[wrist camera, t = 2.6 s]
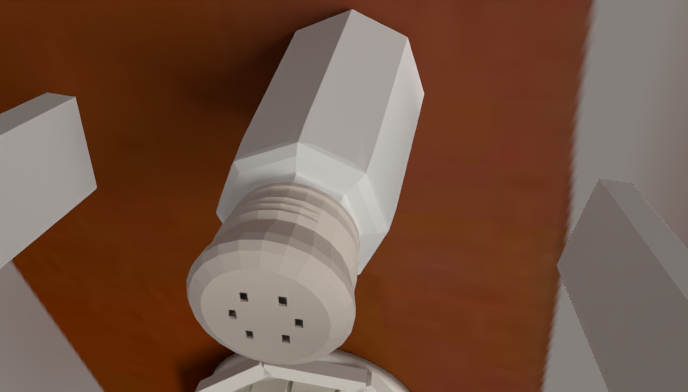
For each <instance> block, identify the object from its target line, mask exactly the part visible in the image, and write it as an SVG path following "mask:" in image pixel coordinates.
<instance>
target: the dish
mask: <svg viewBox="0 0 688 392" xmlns="http://www.w3.org/2000/svg"><path fill="white" fill-rule="evenodd" d="M195 392H410V391H409V390H408V389H407V388H406V387H405V386H404V384H403V383H402V382H400V381H399V380H398V379H397V378H396V377H394V376H393V375H392V374H390V373H389V372H387V371H386V370H384V369H383V368H381V367H380V366H378V365H376V364H374V363H372V362H370V361H368V360H366V359H364V358H361V357H359V356H356V355H354V354H351V353H348V352H345V351H342V350H338V349H335V350H333V351H332V352H331V353H329V354H328V355H326V356H325V357H322V358H320V359H317V360H314V361H311V362H308V363H301V364H293V365H287V364H271V363H267V362H262V361H258V360H253V359H251V358H248V357H246V356H243V355H240V354H238V353H234V354H233V355H231V356H229V357H227V358H226V359H225V360H224V361H223V362H221V363H220V364H219V365H218V366H217V368H216V369H215V370H214V372H213V374H212V376H210V377H208V378H206V379H203V380H201V381H200V383H199V384H198V386H197V389H196V391H195Z"/></svg>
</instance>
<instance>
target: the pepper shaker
mask: <svg viewBox="0 0 688 392" xmlns="http://www.w3.org/2000/svg"><path fill="white" fill-rule="evenodd" d="M423 97H424V92H423V88H422V85H421V81H420V78H419V74H418V71H417V68H416V64H415V61H414V57H413V54H412V51H411V47H410V44H409V40H408V37H406V36H404V35H402V34H400V33H398V32H396V31H394V30H392V29H390V28H388V27H386V26H384V25H382V24H380V23H378V22H376V21H374V20H372V19H370V18H368V17H366V16H364V15H362V14H361V13H359V12H357V11H355V10H353V9H351V10H348V11H346V12H343V13H341V14H338V15H336V16H333V17H330V18H328V19H325V20H323V21H320V22H318V23H315V24H313V25H310V26H307V27H305V28H302V29H300V30H297V31H296V32H295V34H294V36H293V38H292V40H291V42H290V44H289V46H288V48H287V50H286V52H285V54H284V56H283V58H282V60H281V62H280V64H279V66H278V68H277V70H276V72H275V74H274V76H273V78H272V80H271V82H270V85H269V87H268V89H267V91H266V93H265V95H264V97H263V99H262V101H261V103H260V105H259V107H258V109H257V111H256V113H255V115H254V117H253V119H252V121H251V123H250V125H249V127H248V129H247V131H246V133H245V135H244V137H243V139H242V141H241V144H240V146H239V149H238V151H237V154H236V157H235V159H234V162H233V164H232V166H231V168H230V171H229V174H228V177H227V180H226V183H225V186H224V189H223V192H222V195H221V198H220V201H219V204H218V208H217V212H216V214H217V215H218V217H219V218H220V220H221V222H222V223H223V225H222V226H221V227H220V229H219V231H218V232H217V234H216V235H215V237H214V240H213V242H212V243H211V244H210V245H208V246H207V247H206V249H205V250H204V251H203V252H202V253H201V254H200V256H199V257H198V258H197V259H196V261H195V262H194V263H193V265H192V266H191V268H190V271H189V274H188V278H187V281H186V284H187V297H188V300H189V303H190V306H191V308H192V311H193V313H194V315H195V318H196V319H197V320H198V322H199V323H200V324H201V326H202V327H203V328H204V330H205V331H206V332H207V333H208V334H209V335H211V336H212V337H213V338H214V339H215V340H216V341H218V342H219V343H220V344H222V345H224V346H225V347H227V348H229V349H230V350H232V351H234V352H236V353H238V354H240V355H243V356H246V357H248V358H251V359H253V360H258V361H262V362H267V363H271V364H287V365H293V364H301V363H308V362H311V361H314V360H317V359H320V358H322V357H325V356H326V355H328V354H329V353H331V352H332V351H333V350H335V349H336V348H338V347H339V346H341V345H342V344H343V343H344V341H345V340H346V339H347V337H348V336H349V334H350V333H351V331H352V327H353V323H354V320H355V311H356V306H355V298H354V290H355V285H356V281H357V275H359V274H360V273H361V272H362V270H363V269H364V267H365V266H366V264H367V263H368V261H369V260H370V258H371V257H372V255H373V254H374V252H375V251H376V249H377V248H378V246H379V245H380V243H381V242H382V240H383V238H384V237H385V235H386V234H387V232H388V231H389V228H390V225H391V222H392V220H393V217H394V214H395V211H396V207H397V203H398V199H399V195H400V191H401V187H402V183H403V178H404V174H405V170H406V166H407V162H408V158H409V154H410V150H411V146H412V142H413V138H414V134H415V129H416V125H417V121H418V117H419V113H420V109H421V105H422V101H423Z"/></svg>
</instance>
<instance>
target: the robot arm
mask: <svg viewBox="0 0 688 392" xmlns="http://www.w3.org/2000/svg"><path fill="white" fill-rule="evenodd" d="M96 189H97V185H96V181H95V177H94V173H93V168H92V164H91V160H90V156H89V152H88V148H87V143H86V139H85V135H84V131H83V127H82V123H81V118H80V114H79V110H78V106H77V102H76V98H75V97H72V96H66V95H59V94H53V93H45V94H43V95H41V96H39V97H36V98H34V99H32V100H30V101H28V102H25V103H23V104H21V105H19V106H17V107H15V108H12V109H10V110H8V111H6V112H4V113H1V114H0V269H1V268H2V267H3V266H4V265H5V264H6V263H8V262H9V261H10V260H11V259H13V258H14V257H15V256H16V255H17V254H19V253H20V252H21V251H22V250H23V249H25V248H26V247H27V246H28V245H29V244H31V243H32V242H33V241H34V240H35V239H37V238H38V237H39V236H40V235H41V234H43V233H44V232H45V231H46V230H47V229H49V228H50V227H51V226H52V225H53V224H55V223H56V222H57V221H58V220H60V219H61V218H62V217H63V216H64V215H66V214H67V213H68V212H69V211H70V210H72V209H73V208H74V207H75V206H76V205H78V204H79V203H80V202H81V201H82V200H84V199H85V198H86V197H87V196H88V195H90V194H91V193H92V192H93V191H94V190H96ZM557 268H558V270H559V272H560V275H561V277H562V280H563V282H564V285H565V287H566V289H567V292H568V294H569V297H570V299H571V301H572V304H573V306H574V309H575V311H576V313H577V316H578V318H579V321H580V323H581V326H582V328H583V330H584V333H585V335H586V337H587V340H588V342H589V345H590V347H591V350H592V352H593V354H594V357H595V359H596V362H597V364H598V366H599V369H600V371H601V374H602V376H603V379H604V381H605V383H606V386H607V388H608V390H609V392H688V250H687V248H686V247H685V246H684V245H683V244H682V242H681V241H680V240H679V239H678V238H677V236H676V235H675V234H674V233H673V232H672V230H671V229H670V228H669V227H668V226H667V224H666V223H665V222H664V221H663V220H662V218H661V217H660V216H659V215H658V214H657V212H656V211H655V210H654V209H653V208H652V207H651V205H650V204H649V203H648V202H647V201H646V199H645V198H644V197H643V196H642V195H641V193H640V192H639V191H638V190H637V189H636V187H635V186H634V185H633V184H631V183H625V182H619V181H612V180H605V179H599V180H598V182H597V184H596V186H595V188H594V190H593V193H592V194H591V196H590V198H589V200H588V202H587V205H586V207H585V209H584V211H583V213H582V215H581V217H580V219H579V221H578V223H577V225H576V227H575V229H574V231H573V233H572V235H571V237H570V239H569V241H568V243H567V245H566V247H565V249H564V251H563V253H562V255H561V257H560V259H559V261H558V264H557Z"/></svg>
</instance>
